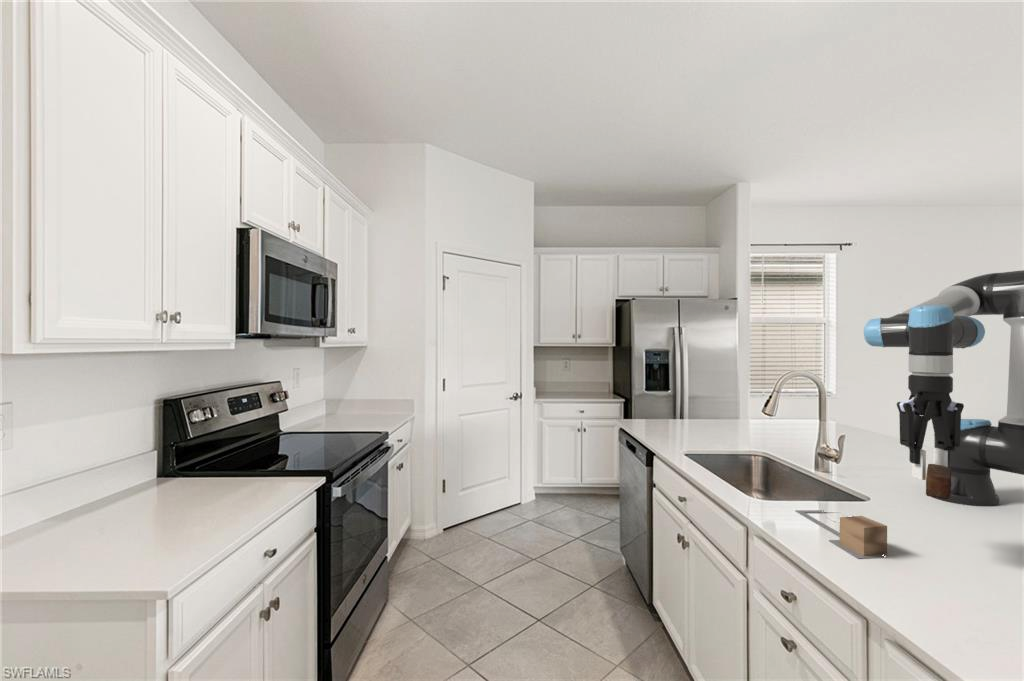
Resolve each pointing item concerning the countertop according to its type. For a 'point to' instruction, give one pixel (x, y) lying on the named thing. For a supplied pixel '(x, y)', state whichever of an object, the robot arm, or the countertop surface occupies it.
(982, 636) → the countertop surface
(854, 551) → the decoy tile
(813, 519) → the frame
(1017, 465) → the robot arm
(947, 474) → the brick
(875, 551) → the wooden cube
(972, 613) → the countertop surface
